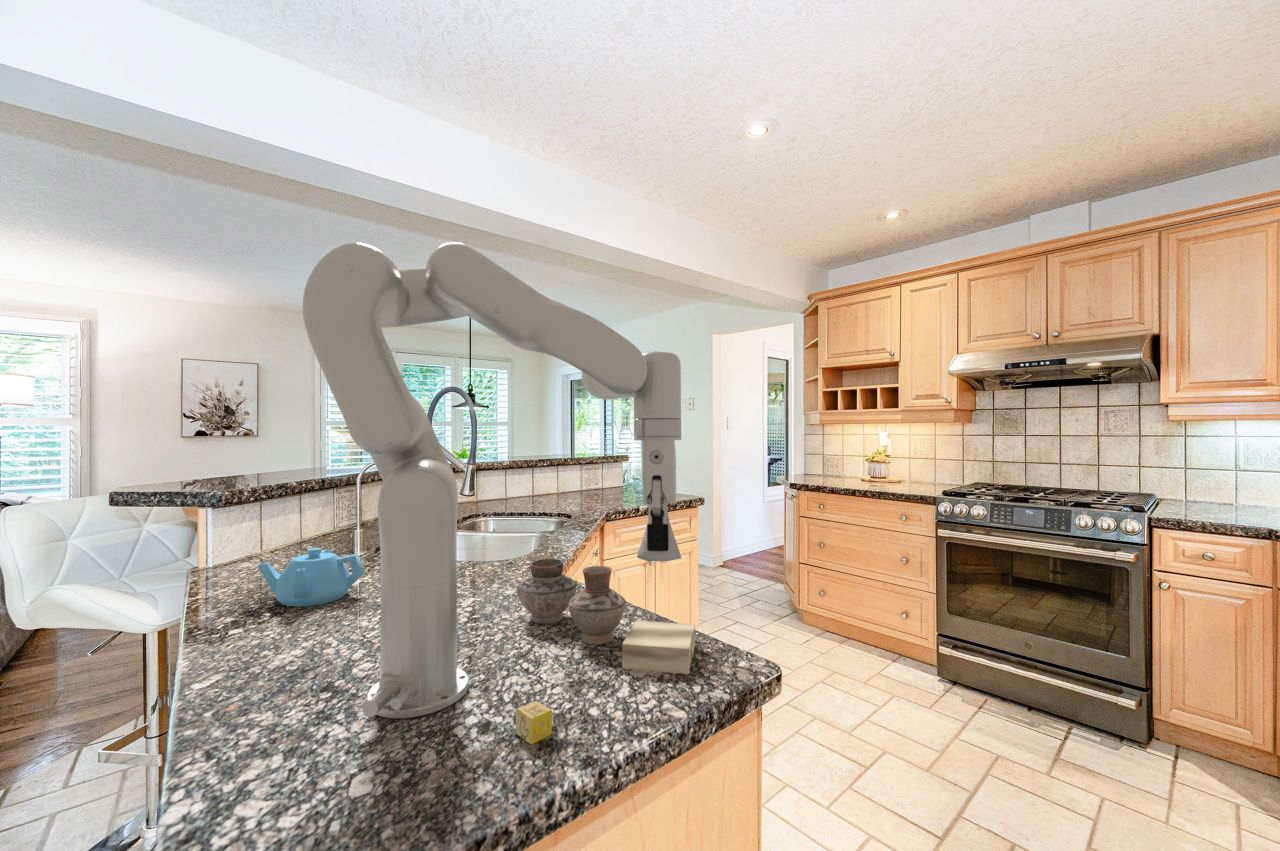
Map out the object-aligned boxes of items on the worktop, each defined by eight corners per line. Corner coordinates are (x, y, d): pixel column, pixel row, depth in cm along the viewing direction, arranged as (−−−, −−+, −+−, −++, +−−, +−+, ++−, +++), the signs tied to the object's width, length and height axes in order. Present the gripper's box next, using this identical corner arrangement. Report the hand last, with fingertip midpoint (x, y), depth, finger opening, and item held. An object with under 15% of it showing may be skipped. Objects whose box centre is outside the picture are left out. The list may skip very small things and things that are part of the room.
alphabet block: (536, 724, 63) (537, 699, 63) (552, 734, 61) (552, 708, 61) (515, 735, 61) (515, 708, 61) (530, 746, 58) (530, 718, 58)
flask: (630, 554, 84) (630, 492, 84) (672, 551, 86) (671, 490, 86) (644, 565, 77) (643, 497, 77) (689, 561, 79) (688, 495, 79)
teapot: (294, 615, 101) (294, 560, 102) (255, 603, 109) (255, 552, 109) (368, 594, 115) (368, 545, 115) (329, 585, 122) (329, 539, 122)
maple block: (689, 676, 76) (688, 649, 76) (622, 670, 78) (622, 644, 78) (694, 648, 85) (694, 624, 86) (635, 644, 87) (635, 620, 87)
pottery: (593, 657, 82) (592, 581, 82) (505, 619, 99) (505, 556, 99) (641, 636, 90) (641, 567, 90) (552, 605, 107) (552, 547, 107)
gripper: (681, 430, 73) (683, 560, 73) (681, 431, 90) (682, 536, 90) (628, 431, 74) (629, 559, 74) (638, 431, 91) (639, 536, 90)
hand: (658, 545), depth 82 cm, fingers closed on flask, 4 cm apart
